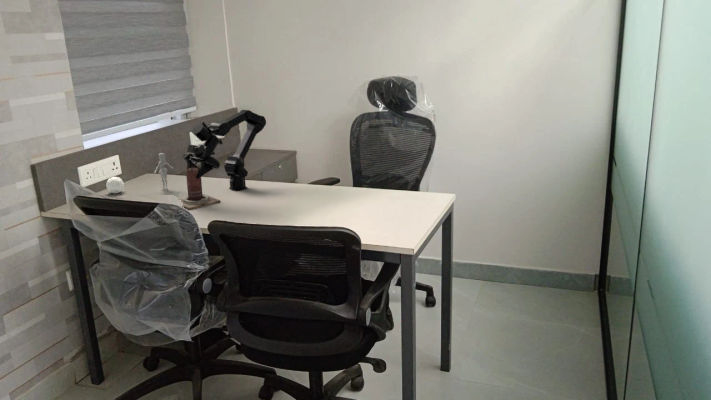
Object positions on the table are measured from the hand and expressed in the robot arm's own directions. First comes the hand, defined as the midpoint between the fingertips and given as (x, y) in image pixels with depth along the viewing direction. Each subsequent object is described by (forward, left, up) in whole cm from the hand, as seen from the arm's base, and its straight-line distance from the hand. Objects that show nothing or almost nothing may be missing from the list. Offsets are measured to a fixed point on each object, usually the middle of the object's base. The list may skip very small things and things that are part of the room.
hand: (191, 177), depth 242 cm
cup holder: (-1, 0, -12) cm, 12 cm away
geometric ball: (+17, -44, -12) cm, 48 cm away
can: (-1, -1, -10) cm, 11 cm away
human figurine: (-1, -30, -12) cm, 32 cm away
